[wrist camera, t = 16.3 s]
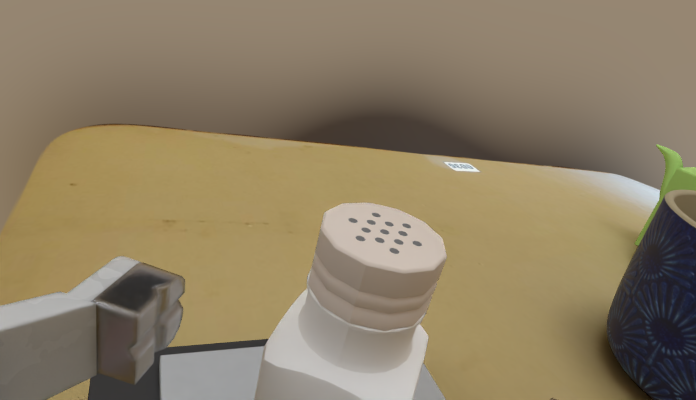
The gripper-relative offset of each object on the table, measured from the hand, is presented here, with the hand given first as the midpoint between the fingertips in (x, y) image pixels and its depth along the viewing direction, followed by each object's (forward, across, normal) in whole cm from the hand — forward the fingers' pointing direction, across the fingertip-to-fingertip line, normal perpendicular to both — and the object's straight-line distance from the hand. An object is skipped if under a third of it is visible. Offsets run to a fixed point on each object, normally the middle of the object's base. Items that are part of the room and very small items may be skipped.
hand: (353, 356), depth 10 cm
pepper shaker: (+2, 0, +8) cm, 8 cm away
